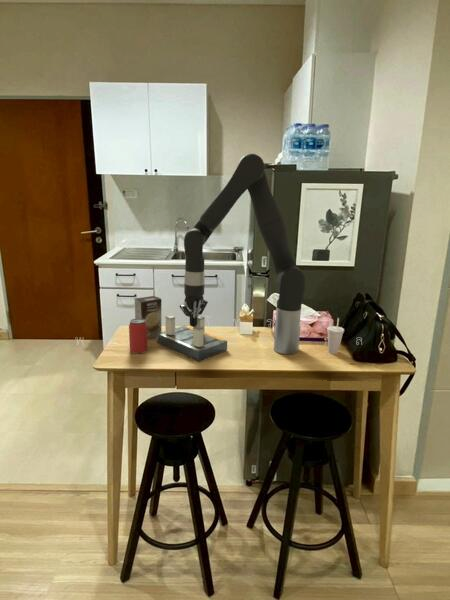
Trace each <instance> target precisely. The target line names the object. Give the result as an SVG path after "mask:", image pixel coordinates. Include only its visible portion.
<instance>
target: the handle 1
mask: <svg viewBox="0 0 450 600" xmlns="http://www.w3.org/2000/svg"><path fill="white" fill-rule="evenodd" d="M164 319H165V331H166V334H168V335H173V334H175V328H176V317H175V316H173V315H166V316H165V318H164Z"/></svg>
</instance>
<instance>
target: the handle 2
mask: <svg viewBox="0 0 450 600" xmlns="http://www.w3.org/2000/svg"><path fill="white" fill-rule="evenodd" d="M192 328H193V345H194V346H197V347H201V346H203V337H204V332H205V330H204V328H203V327H200V326H195V327H192Z"/></svg>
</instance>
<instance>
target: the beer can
mask: <svg viewBox="0 0 450 600" xmlns="http://www.w3.org/2000/svg"><path fill="white" fill-rule="evenodd" d="M128 334H129V336H128V337H129V338H128V341H129V351H130V352H131V353H133V354H143V353H146V352H147V351H148V347H149V345H148V339H147V324H146V322H145V320H144V319H141V318H136V319H135V318H132V319H130V320H129V324H128Z"/></svg>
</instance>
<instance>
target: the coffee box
mask: <svg viewBox="0 0 450 600" xmlns="http://www.w3.org/2000/svg"><path fill="white" fill-rule="evenodd" d="M136 318H141V319H144V320H145V322H146V324H147V340H148V339H151V338H157V334H158V333H161V332H163V330H162V298H160V297H158V296H155V295H151V296H144V297H136V298H134V319H136Z"/></svg>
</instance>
